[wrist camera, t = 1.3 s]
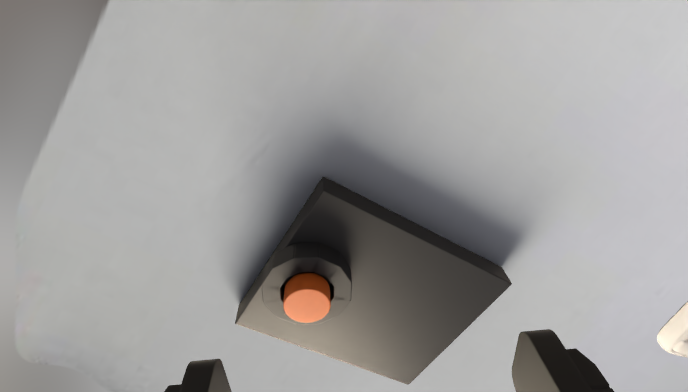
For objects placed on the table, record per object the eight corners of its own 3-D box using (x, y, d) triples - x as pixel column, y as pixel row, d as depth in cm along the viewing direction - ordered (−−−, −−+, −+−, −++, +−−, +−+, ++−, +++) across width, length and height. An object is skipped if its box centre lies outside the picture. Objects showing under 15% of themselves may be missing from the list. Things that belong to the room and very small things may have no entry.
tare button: (276, 296, 27) (274, 313, 26) (298, 265, 26) (297, 282, 25) (315, 311, 28) (315, 328, 27) (338, 282, 27) (339, 299, 26)
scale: (233, 303, 32) (224, 339, 29) (316, 172, 27) (317, 200, 24) (404, 366, 37) (412, 402, 34) (502, 267, 32) (522, 299, 29)
